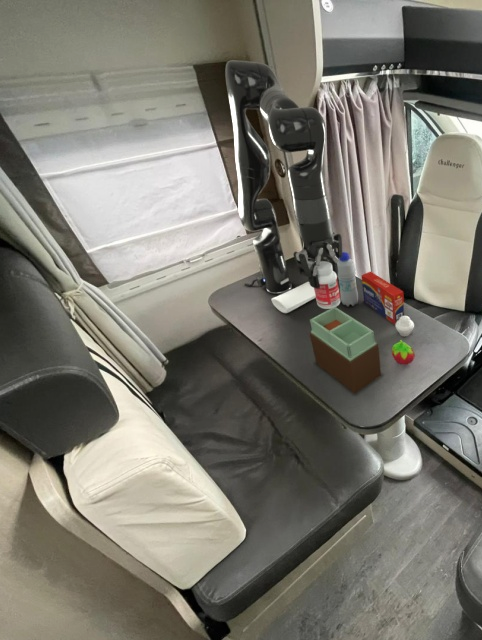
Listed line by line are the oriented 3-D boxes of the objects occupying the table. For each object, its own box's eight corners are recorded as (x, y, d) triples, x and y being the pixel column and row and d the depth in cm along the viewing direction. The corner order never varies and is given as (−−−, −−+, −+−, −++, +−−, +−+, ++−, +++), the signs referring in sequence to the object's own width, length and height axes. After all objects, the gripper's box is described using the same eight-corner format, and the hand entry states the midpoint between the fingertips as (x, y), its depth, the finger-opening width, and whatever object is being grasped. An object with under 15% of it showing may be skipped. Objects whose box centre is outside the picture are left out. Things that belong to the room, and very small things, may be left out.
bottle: (356, 309, 132) (350, 258, 118) (338, 307, 133) (330, 256, 119) (361, 299, 136) (356, 249, 123) (344, 297, 137) (337, 247, 124)
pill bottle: (334, 311, 94) (327, 273, 86) (313, 307, 95) (304, 269, 88) (344, 299, 98) (339, 261, 91) (324, 295, 99) (317, 258, 92)
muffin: (392, 332, 122) (391, 315, 117) (406, 325, 124) (406, 308, 120) (403, 341, 118) (402, 324, 113) (417, 334, 121) (418, 317, 116)
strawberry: (403, 376, 106) (402, 350, 100) (388, 362, 111) (386, 337, 104) (418, 367, 109) (418, 342, 102) (403, 354, 113) (402, 329, 107)
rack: (316, 363, 110) (305, 319, 99) (342, 347, 116) (335, 304, 105) (354, 394, 101) (347, 349, 90) (380, 375, 107) (377, 331, 95)
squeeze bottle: (273, 306, 133) (269, 295, 129) (316, 285, 144) (314, 273, 140) (288, 317, 128) (285, 305, 125) (332, 293, 139) (330, 282, 136)
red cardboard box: (404, 320, 127) (403, 291, 119) (395, 324, 125) (394, 296, 117) (372, 298, 137) (370, 271, 129) (364, 302, 135) (361, 275, 127)
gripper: (323, 202, 87) (333, 266, 98) (276, 222, 78) (293, 290, 89) (347, 209, 84) (354, 273, 95) (301, 230, 75) (316, 299, 86)
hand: (325, 281), depth 92 cm, fingers closed on pill bottle, 6 cm apart
